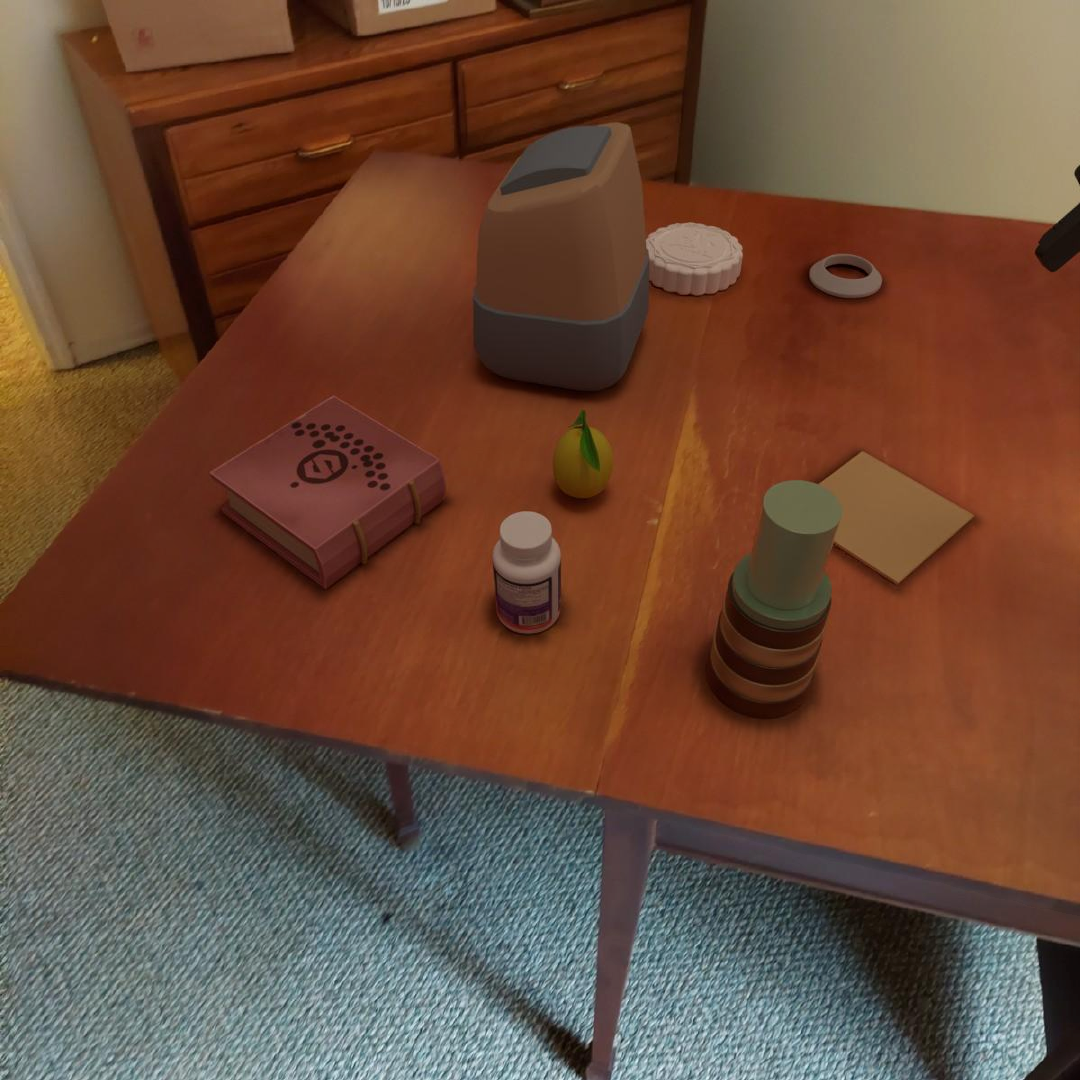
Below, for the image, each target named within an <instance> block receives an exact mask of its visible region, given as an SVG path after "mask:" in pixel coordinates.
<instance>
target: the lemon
mask: <svg viewBox="0 0 1080 1080" xmlns="http://www.w3.org/2000/svg"><path fill="white" fill-rule="evenodd" d="M586 411H587V410H586V409H585V408H582V410H580V412H579V414H578V416H577V418H576V419H575V421H574V422H573V423H572V424H570V425H569V426H568V428H571V429H569V430H568V431H567V432H565V433H564V434H563V435H562V436H561V438H560V439H559V440H558V442H557V445H556V446H555V450H554V452H553V457H552V474H553V478H554V480H555V482H556V484H557V486H558V488H559V489H560V490H561V491H562V492H563V493H564V494H566V495H568V496H570V497H572V498H577V499H589V498H592V497H596V496H597V495H599V494H600V493H601V492H602V491H603V490H604V489H605V488H606V487H607V485H608V484H609V482H610V480H611V477H612V474H613V471H614V454H613V449H612V448H611V447H612V446H611V444H610V443H609V441H608V439H607V437H606V436H605V435H604V434H603V433H602V432H601V431H600V430H599V429H596V428H594V427H592V426H589V425H588V422H587V419H586V417H587V414H586ZM572 427H573V428H572Z"/></svg>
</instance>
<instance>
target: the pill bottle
mask: <svg viewBox="0 0 1080 1080" xmlns="http://www.w3.org/2000/svg"><path fill="white" fill-rule="evenodd" d="M561 554H562V553H561V548H560V546H559V544H558V542H557V541H556V539H555V538H554V537H553V528H552V524H551V522H550V520H549V519H548V518H547V517H546V516H544V515H543V514H541V513H539V512H535V511H527V510H525V511H523V510H522V511H518V512H514V513H512V514H509V515H508V516H507V517H506V518H504V519H503V521H502V522H501V524H500V527H499V539H498V541H497V542H496V544H495V545H494V547H493V551H492V570H493V580H494V581H493V582H494V597H495V609H496V615H497V617H498V619H499V621H500V623H502V625H504V627H506V628H507V629H509V630H510V631H512V632H516V633H519V634H526V635H527V634H528V635H530V634H531V635H532V634H537V633H538V634H539V633H541V632H544V631H546V630H548V629H549V628H550V627H551V626H553V625H554V624H555V622H556V621H557V620H558V619H559V616H560V614H561V610H562V609H561V608H562V555H561Z"/></svg>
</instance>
